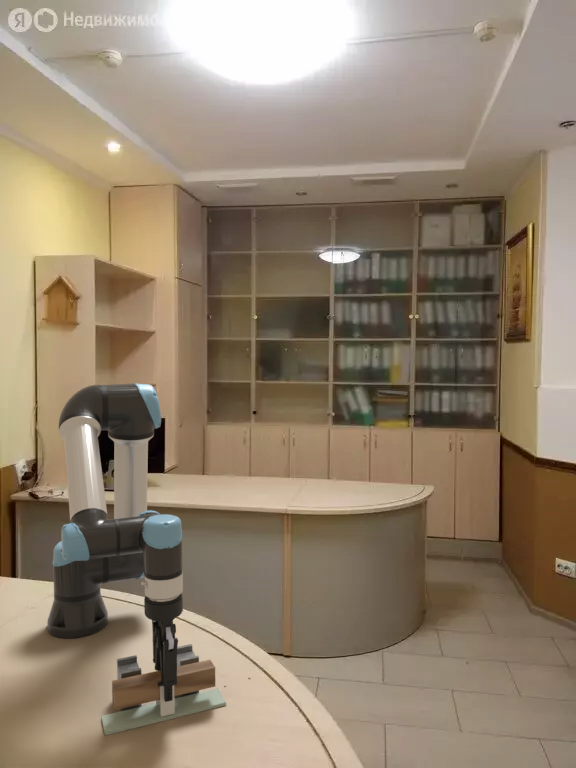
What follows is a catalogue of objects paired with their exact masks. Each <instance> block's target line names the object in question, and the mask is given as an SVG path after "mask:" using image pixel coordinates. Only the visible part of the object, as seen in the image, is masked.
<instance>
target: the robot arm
mask: <svg viewBox="0 0 576 768" xmlns="http://www.w3.org/2000/svg"><path fill="white" fill-rule="evenodd" d="M160 405H161V404H160V401H159V397H158V394H157V391H156V389H155V387H154V386H153V385H151V384H149V383H145V384H144V383H136V382H134V383H115V384H93V385H88V386H85V387H83V388H81V389H79V390H78V391H76V393H74V394H72V396H71V397H70V398H69V399H68V400H67V402H66V403H65V405H64V406H63V408H62V410H61V412H60V416H59V419H58V434H59V437H60V438H61V440H62V441H63V442H64V453H65V455H64V457H65V458H64V459H65V468H66V469H65V470H66V482H67V483H66V485H67V494H68V509H69V521H70V523H66V524H63V526H62V527H61V531H60V532H61V534H60V535H61V537H60V538H61V541H58V543H57V544H56V545H55V546H54V548H53V553H52V554H53V558H52V566H53V601H52V605H51V608H50V611H49V614H48V617H47V622H46V623H47V632H48V633H49V634H50V635H51V636H54V637H56V638H62V639H63V638H64V639H73V638H74V639H75V638H81V637H82V638H83V637H86V636H89V635H92V634H95V633H97V632H99V631H101V630H102V629H104V628H105V627H106V626H107V624H108V621H109V618H108V617H109V616H108V613H109V612H108V610H107V607H106V604H105V601H104V599H103V596H102V594H101V585H102V584H111V583H117V582H123V581H130V580H139V579H142V578H144V580H143V581H141V582H140V585H141V586H142V587H144V591H143V593H144V596H145V597H144V600H143V602H144V603H143V604H144V605H143V606H144V608H143V609H144V616H145V618H147V619H148V620H151V626H152V627H151V628H152V631H151V632H152V662H153V664H154V670H155V671H160V670H161V682H158V687H160V700H156V701H155V703H156V705H159V704H160V715H161V717H162V716H166V715H170V714H174V713H175V704H174V699H175V696H174V685H177V647H178V643H179V640H178V637H176V633H177V628H176V627H177V626H176V623H174V620H175V619H176V618H177V617H179V616H180V615H181V614H182V613H183V611H184V603H183V602H184V599H183V598H184V595H183V591H184V581H183V580H184V576H183V575H184V574H183V573H184V572H183V537H184V534H183V530H182V529H183V528H182V520H181V518H180V517H178V516H177V515H173V514H164V513H163V514H161V513H159V512H158V511H157V510H151V509H150V510H148V474H149V473H148V464H149V463H148V459H149V457H148V456H149V453H148V452H149V441H150V440H151V439H152V438H154V435H155V429H156V430H157V429H158V428H161V424H162V412H161V406H160ZM103 431H107V435H108V436H107V437H108V438H109V439H110V440H111V441H113V443H114V444H113V445H114V451H113V452H114V453H113V454H114V455H113V456H114V457H113V458H114V459H113V462H114V464H113V467H114V468H113V471H114V473H113V481H114V482H113V484H114V486H113V488H114V489H113V491H114V493H113V497H114V499H113V505H114V506H113V510H114V511H113V519H112V518H111V519H109V518H108V510H107V502H106V501H107V500H106V492H105V486H104V477H103V469H102V462H101V455H100V445H99V444H100V443H99V439H98V438H99V436H100V435H101V432H103Z"/></svg>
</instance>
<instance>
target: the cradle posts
mask: <svg viewBox="0 0 576 768" xmlns="http://www.w3.org/2000/svg"><path fill="white" fill-rule="evenodd" d="M197 662H200V656H199V655H196V654H195V652H194V649H193V644H192V643H190V644H189V643H188V644H184V645H180V646H177V667H178V666H183V665H187V664H192V663H197ZM116 674H117V679H116V680H118V679H123V678H127V677H132V676H136V675H141V674H142V668H141V667H140V665H139V663H138V656H137V655H135V654H134V655H132V656H131V655H130V656H125V657H120V658H116ZM197 693H200V690H198V691H194V692H190V693H186V694H181V695H178V696H179V698H180V697H184V696H188V695H192V694H197ZM142 706H143V704H139V705H135V706H131V707H126V708H122V709H120V712H121V711H125V710H129V709H134V708H138V707H142Z"/></svg>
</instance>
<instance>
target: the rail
mask: <svg viewBox="0 0 576 768" xmlns="http://www.w3.org/2000/svg"><path fill="white" fill-rule="evenodd" d="M158 682H161V670H160V671H156V670H155V671H152V672H151V671H150V672H147V673H143V674H142V673H141V675H136V676H132V677H127V678H123V679H118V680H117V679H114V680H112V681H111V686H112V687H111V689H112V690H111V693H112V694H111V695H112V696H111V697H112V699H111V700H112V703H113V708H114V711H117V710H121V709H122V708H126V707H131V706H135V705H139V704H142V705H144V704H148V703H151V702H156V700H160V687H158ZM214 687H216V666H215V665H214V663H213V661H212V659H206V660H201V661H199V662H197V663H192V664H187V665H183V666H178V667H177V685H174V697H176V696H179V695H181V694H186V693H190V692H194V691H198V690H199V691H202V690H206V689H211V688H214Z"/></svg>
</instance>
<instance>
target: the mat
mask: <svg viewBox="0 0 576 768" xmlns="http://www.w3.org/2000/svg"><path fill="white" fill-rule="evenodd" d="M174 704H175V713H174V714H170V715H166V716H162V717H161V715H160V704H159V705H156V702H154V703H151V704H147V705H142V707H138V708H134V709H129V710H125V711H121V710H120V711H117V712H113V713H109V714H105V715H101V723H102V727H103V732H104V736H108V735H112V734H116V733H120V732H124V731H128V730H133V729H136V728H140V727H143V726H144V727H145V726H149V725H153V724H156V723H161V722H164V721H165V722H166V721H168V720H173V719H176V718H180V717H185V716H188V715H192V714H197V713H200V712H204V711H207V710H208V711H209V710H212V709H216V708H220V707H225V706H227V701H226V699H225V698H224V696H223V694H222V692H221V691H220V689H219V688H213V689H210V690H206V691H205V690H204V691H202V692H199V693H197V694H192V695H188V696H184V697H180V696H179V697H177V698H174Z"/></svg>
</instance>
